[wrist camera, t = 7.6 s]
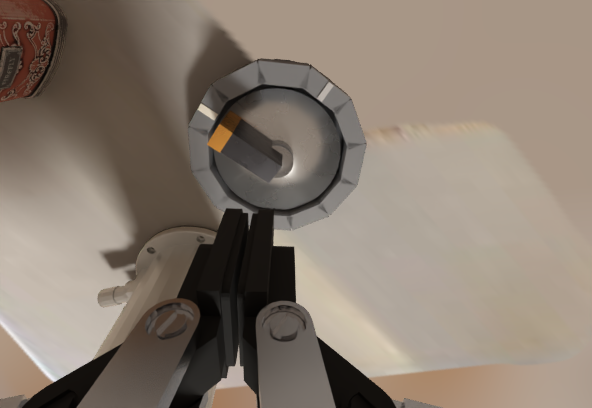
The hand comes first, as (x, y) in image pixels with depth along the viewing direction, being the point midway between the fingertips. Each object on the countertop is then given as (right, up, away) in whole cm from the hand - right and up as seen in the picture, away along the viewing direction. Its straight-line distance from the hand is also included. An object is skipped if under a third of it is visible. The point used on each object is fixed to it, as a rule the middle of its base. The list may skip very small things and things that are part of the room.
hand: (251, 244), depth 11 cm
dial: (0, +6, +15) cm, 16 cm away
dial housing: (0, +7, +17) cm, 18 cm away
